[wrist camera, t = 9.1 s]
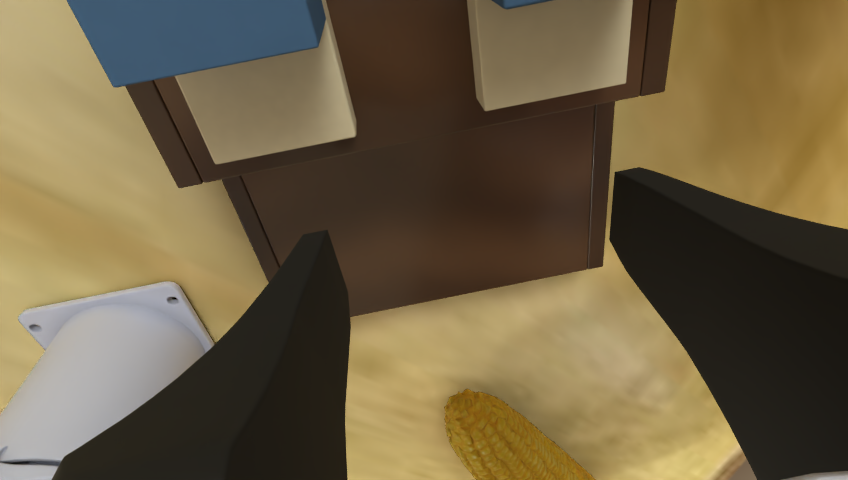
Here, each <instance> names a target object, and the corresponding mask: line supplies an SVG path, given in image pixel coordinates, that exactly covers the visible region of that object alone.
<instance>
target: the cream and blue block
mask: <svg viewBox="0 0 848 480" xmlns="http://www.w3.org/2000/svg"><path fill="white" fill-rule="evenodd" d="M67 2H68V4H69V6H70V7H71V9H72V11H73V13H74V15H75V17H76V19H77V20H78V22H79V24H80V26H81V28H82V30H83V32H84V33H85V35H86V37H87V39H88V41H89V43H90V45H91V47H92V48H93V50H94V52H95V54H96V56H97V58H98V60H99V61H100V63H101V65H102V67H103V69H104V71H105V73H106V74H107V76H108V78H109V80H110V82H111V84H112V86H113V87H121V86H126V85H131V84H136V83H142V82H147V81H152V80H157V79H162V78H167V77H172V76H175V78H176V80H177V82H178V84H179V86H180V89H181V91H182V93H183V95H184V97H185V100H186V102H187V104H188V106H189V108H190V111H191V113H192V115H193V117H194V119H195V121H196V124H197V126H198V128H199V130H200V132H201V135H202V137H203V139H204V141H205V143H206V146H207V148H208V150H209V152H210V154H211V157H212V159H213V161H214V163H215V164H222V163H227V162H232V161H237V160H242V159H247V158H252V157H257V156H262V155H267V154H272V153H277V152H282V151H287V150H292V149H297V148H302V147H307V146H312V145H317V144H323V143H328V142H333V141H338V140H343V139H348V138H353V137H355V136H356V118H355V114H354V110H353V106H352V102H351V98H350V94H349V90H348V86H347V82H346V78H345V74H344V70H343V66H342V62H341V58H340V54H339V50H338V46H337V42H336V38H335V34H334V30H333V26H332V23H331V19H330V15H329V11H328V7H327V3H326V0H67Z"/></svg>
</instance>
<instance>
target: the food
mask: <svg viewBox="0 0 848 480" xmlns="http://www.w3.org/2000/svg"><path fill="white" fill-rule="evenodd" d="M444 408H445V411H446V413H445V414H446V415H445V422H446V425H445V426H446V432H447V436H449V438H450V439H449V442H450V444H451V446H452V448H453V449H454V451H455V453H456V454H457V456H458V457H460V459H461V461H462V463H463V464H464V466H465V467H466V468H467V469H468V470H469V471H470V472H471V473H472V475H473V477H474V478H475V479H476V480H595V479H594V478H593V477H592V475H590V474H589V473H587V471H586V470H585V469H584V468H582V467H581V466H580V465H579V464H577V463H576V462H575V461H574V459H572V458H571V457H570V456H569V455H568V454H567V453H566V452H564V451H563V450H562V449H561V448H560V447H559V446H557V445H555V442H552V441H551V440H550V439H548V438H547V437H545V436H544V435H543V434H542V432H541V431H539V430H538V429H537V427H535V426H534V425H533V424H532V423H530V422H529V421H528V420H527V419H526V418H525V417H524V416H522V415H521V414H520V413H518V412H516V411H515V410H514V409H512V408H511V407H509V406H508V404H505V402H503V401H501V400H499V399H498V398H497V397H494V396H491V395H488V394H485V393H482V392H477V393H475V392H473V391H471V390H469V389H466V390H465V391H464V392H462V393H460V392H458V394H457V395H454V396H452V397H449V400H448V402H447V405H446V406H445V407H444Z"/></svg>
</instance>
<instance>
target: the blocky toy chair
mask: <svg viewBox="0 0 848 480" xmlns="http://www.w3.org/2000/svg"><path fill="white" fill-rule="evenodd" d="M632 5H633V0H467V6H468V17H469V27H470V37H471V47H472V57H473V68H474V78H475V88H476V98H477V100H478V101H479V103H480V104H481V106H482V107H483V109H484V110H485V111H490V110H495V109H500V108H505V107H510V106H515V105H520V104H525V103H530V102H535V101H540V100H545V99H550V98H555V97H560V96H565V95H570V94H575V93H580V92H585V91H590V90H595V89H600V88H605V87H610V86H616V85H621V84H625V83H626V76H627V64H628V52H629V40H630V29H631V17H632Z"/></svg>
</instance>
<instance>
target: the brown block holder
mask: <svg viewBox="0 0 848 480" xmlns="http://www.w3.org/2000/svg"><path fill="white" fill-rule="evenodd" d="M676 2H677V0H633V5H632V17H631V29H630V40H629V52H628V64H627V76H626V83H625V84H621V85H616V86H610V87H605V88H600V89H595V90H590V91H585V92H580V93H575V94H570V95H565V96H560V97H555V98H550V99H545V100H540V101H535V102H530V103H525V104H520V105H515V106H510V107H505V108H500V109H495V110H490V111H485V110H484V109H483V107H482V106H481V104H480V103H479V101H478V100H477V98H476V88H475V78H474V68H473V57H472V47H471V37H470V27H469V17H468V6H467V0H326V3H327V7H328V11H329V15H330V19H331V23H332V26H333V30H334V34H335V38H336V42H337V46H338V50H339V54H340V58H341V62H342V66H343V70H344V74H345V78H346V82H347V86H348V90H349V94H350V98H351V102H352V106H353V110H354V114H355V118H356V136H355V137H353V138H348V139H343V140H338V141H333V142H328V143H323V144H317V145H312V146H307V147H302V148H297V149H292V150H287V151H282V152H277V153H272V154H267V155H262V156H257V157H252V158H247V159H242V160H237V161H232V162H227V163H222V164H215V163H214V161H213V159H212V157H211V154H210V152H209V150H208V148H207V146H206V143H205V141H204V139H203V137H202V135H201V132H200V130H199V128H198V126H197V124H196V121H195V119H194V117H193V115H192V113H191V111H190V108H189V106H188V104H187V102H186V100H185V97H184V95H183V93H182V91H181V89H180V86H179V84H178V82H177V80H176V78H175V76H172V77H167V78H162V79H157V80H152V81H147V82H142V83H136V84H131V85H126V88H127V90H128V92H129V94H130V96H131V98H132V100H133V102H134V104H135V106H136V108H137V109H138V111H139V113H140V115H141V117H142V119H143V121H144V123H145V125H146V127H147V129H148V131H149V132H150V134H151V136H152V138H153V140H154V142H155V144H156V146H157V148H158V150H159V152H160V154H161V155H162V157H163V159H164V161H165V163H166V165H167V167H168V169H169V171H170V173H171V175H172V177H173V178H174V180H175V182H176V184H177V186H178V188H183V187H188V186H193V185H198V184H202V183H203V182H210V181H215V180H220V179H222V181H223V184H224V186H225V188H226V190H227V192H228V195H229V197H230V199H231V201H232V203H233V206H234V208H235V210H236V212H237V214H238V216H239V219H240V221H241V223H242V225H243V227H244V230H245V232H246V234H247V236H248V238H249V241H250V243H251V245H252V247H253V249H254V251H255V254H256V256H257V258H258V260H259V262H260V265H261V267H262V269H263V271H264V273H265V276H266V278H267V280H268V282H270V281H271V279H272V278H273V277H274V275H275V274H276V272H277V271H278V270H279V268H280V267H281V265H282V264H283V263H284V261H285V260H286V258H287V257H288V255H289V254H290V252H291V251H292V249H293V248H294V247H295V245H296V244H297V242H298V241H299V239H300V238H301V237H302V235H303V234H308V233H313V232H318V231H323V230H328V233H329V236H330V239H331V242H332V245H333V248H334V251H335V254H336V257H337V260H338V263H339V266H340V269H341V272H342V275H343V278H344V281H345V284H346V287H347V290H348V297H349V310H350V317H353V316H358V315H363V314H368V313H373V312H378V311H383V310H388V309H392V308H397V307H402V306H407V305H412V304H417V303H422V302H427V301H432V300H437V299H442V298H447V297H452V296H457V295H462V294H467V293H472V292H477V291H482V290H487V289H492V288H497V287H502V286H507V285H512V284H517V283H522V282H527V281H532V280H537V279H542V278H547V277H552V276H557V275H562V274H567V273H572V272H577V271H582V270H586V269H592V268H597V267H602V266H603V257H604V243H605V229H606V215H607V202H608V188H609V174H610V160H611V146H612V133H613V119H614V105H615V101H618V100H623V99H628V98H633V97H638V96H639V95H640V96H645V95H650V94H655V93H660V92H664V91H665V85H666V77H667V70H668V62H669V55H670V47H671V40H672V32H673V24H674V17H675V9H676Z"/></svg>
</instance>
